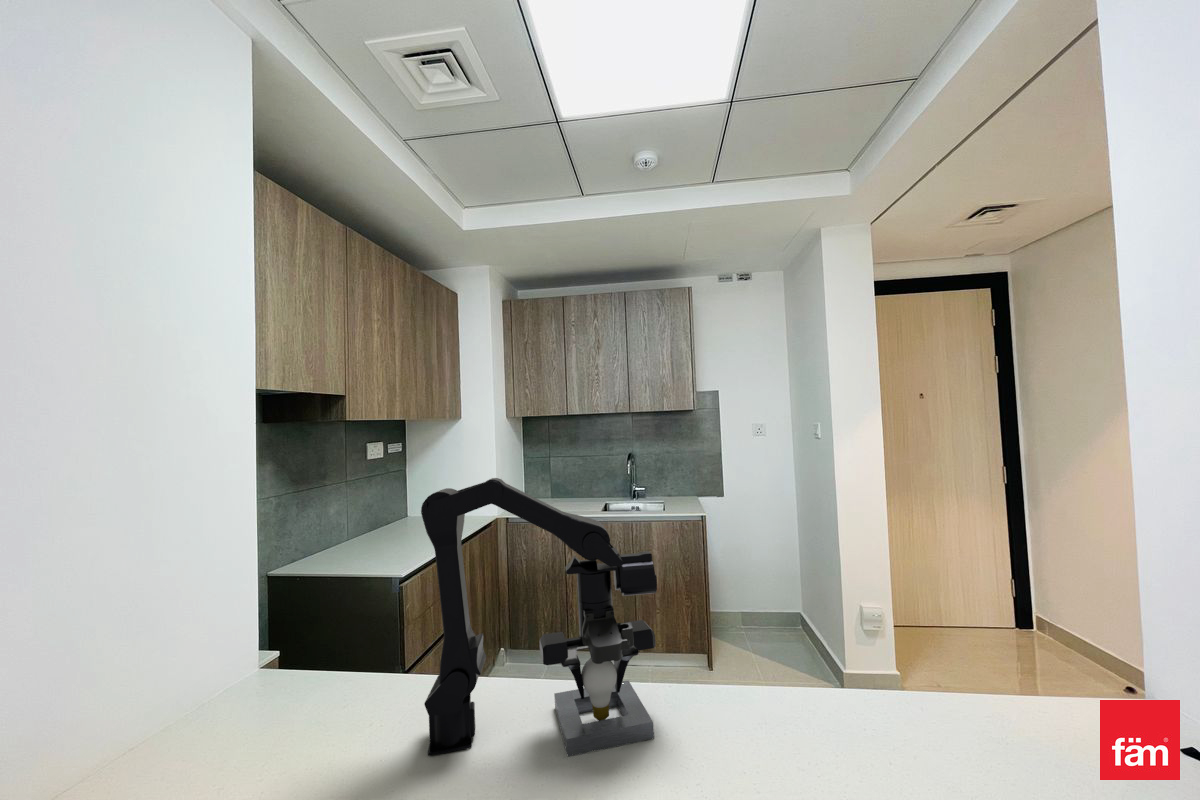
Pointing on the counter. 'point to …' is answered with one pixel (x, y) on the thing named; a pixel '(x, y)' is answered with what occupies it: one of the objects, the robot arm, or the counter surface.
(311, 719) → the counter surface
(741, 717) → the counter surface
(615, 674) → the light bulb
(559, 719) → the socket collar
